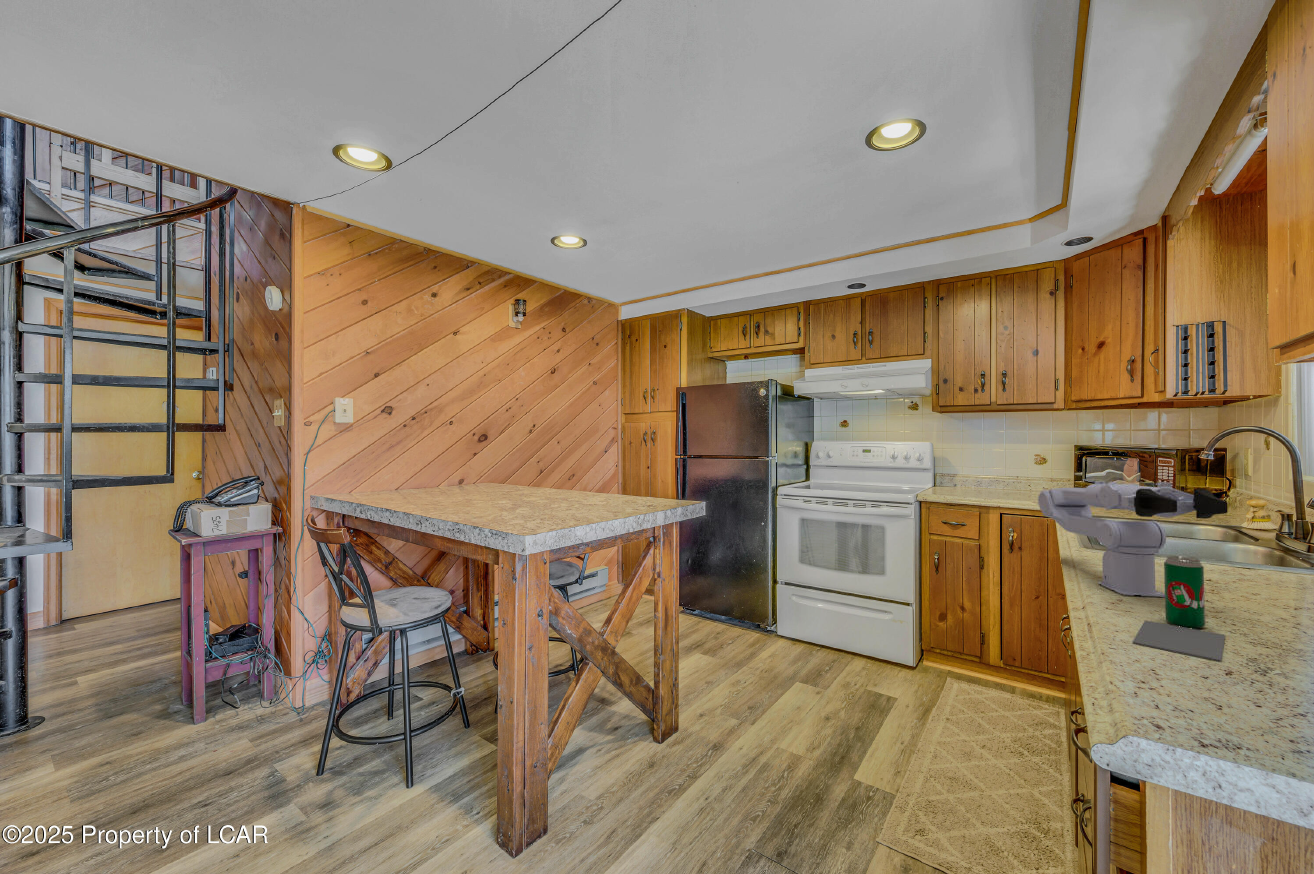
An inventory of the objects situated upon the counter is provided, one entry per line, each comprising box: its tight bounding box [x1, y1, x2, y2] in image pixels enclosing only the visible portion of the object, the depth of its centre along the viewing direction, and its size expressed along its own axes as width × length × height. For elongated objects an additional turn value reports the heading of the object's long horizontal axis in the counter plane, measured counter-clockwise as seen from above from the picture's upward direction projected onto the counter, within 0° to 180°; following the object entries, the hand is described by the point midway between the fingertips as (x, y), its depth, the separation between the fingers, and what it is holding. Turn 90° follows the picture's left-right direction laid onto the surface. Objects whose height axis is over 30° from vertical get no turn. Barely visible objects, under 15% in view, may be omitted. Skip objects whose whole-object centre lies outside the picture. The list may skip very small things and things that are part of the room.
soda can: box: [1163, 555, 1206, 630], centre depth 95 cm, size 5×5×12 cm
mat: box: [1132, 619, 1226, 662], centre depth 88 cm, size 15×10×1 cm, turn 131°
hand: (1199, 506), depth 96 cm, fingers open, 7 cm apart
